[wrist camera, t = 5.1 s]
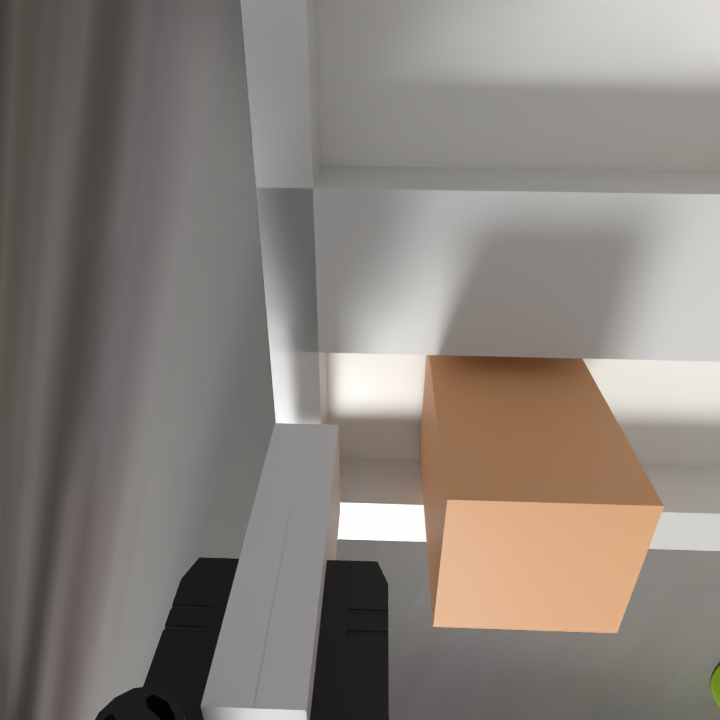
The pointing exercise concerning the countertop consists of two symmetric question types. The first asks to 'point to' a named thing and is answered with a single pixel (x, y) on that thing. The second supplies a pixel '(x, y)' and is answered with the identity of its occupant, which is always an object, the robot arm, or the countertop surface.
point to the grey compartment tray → (491, 224)
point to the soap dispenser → (716, 685)
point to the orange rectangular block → (529, 496)
